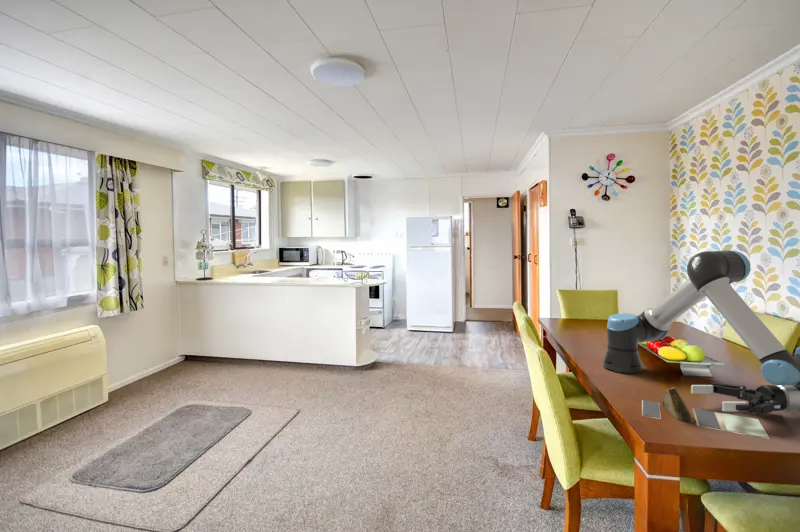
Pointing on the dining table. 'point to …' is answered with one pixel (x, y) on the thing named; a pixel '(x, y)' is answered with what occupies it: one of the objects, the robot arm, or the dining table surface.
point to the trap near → (651, 409)
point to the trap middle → (707, 418)
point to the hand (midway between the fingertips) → (706, 397)
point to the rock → (676, 405)
